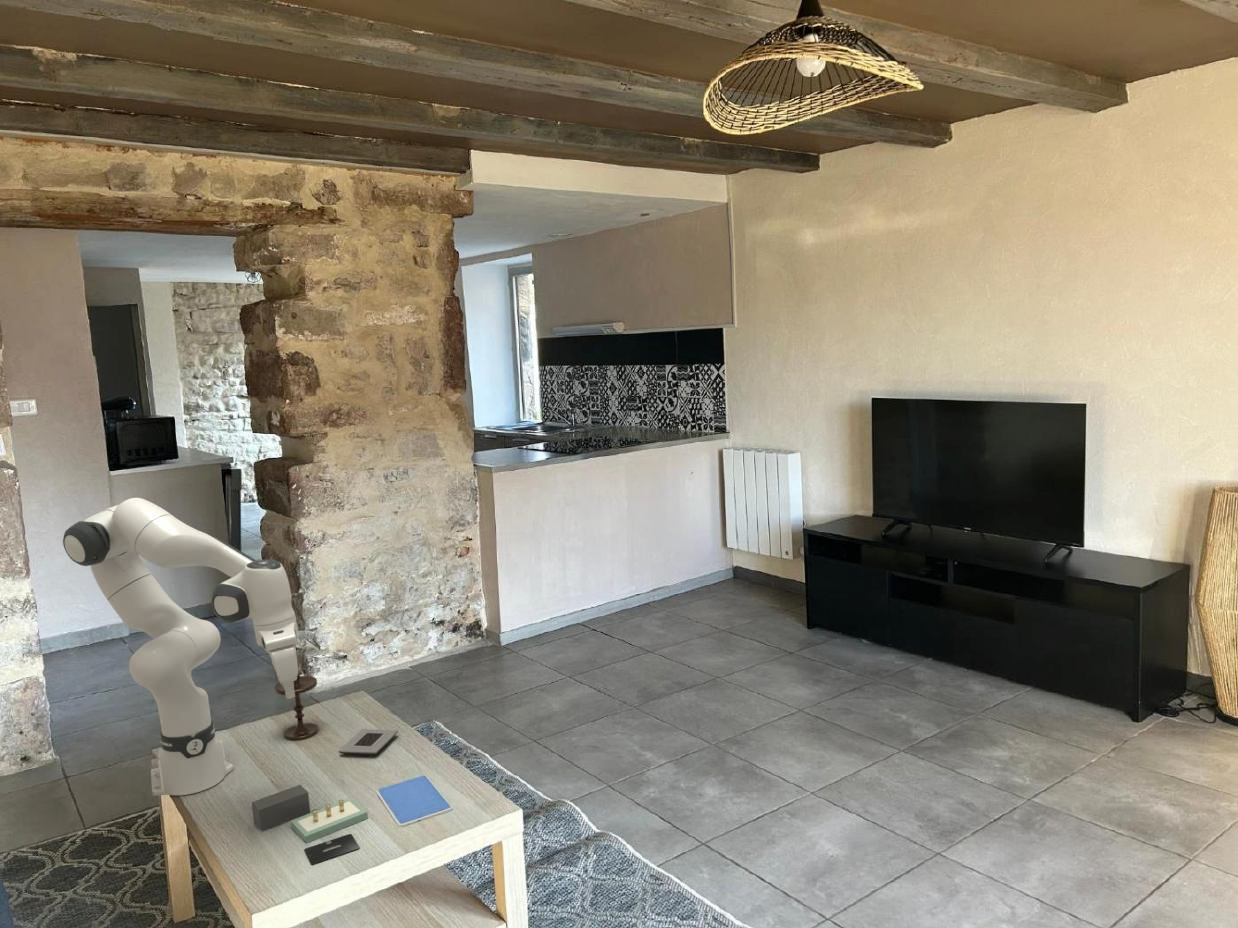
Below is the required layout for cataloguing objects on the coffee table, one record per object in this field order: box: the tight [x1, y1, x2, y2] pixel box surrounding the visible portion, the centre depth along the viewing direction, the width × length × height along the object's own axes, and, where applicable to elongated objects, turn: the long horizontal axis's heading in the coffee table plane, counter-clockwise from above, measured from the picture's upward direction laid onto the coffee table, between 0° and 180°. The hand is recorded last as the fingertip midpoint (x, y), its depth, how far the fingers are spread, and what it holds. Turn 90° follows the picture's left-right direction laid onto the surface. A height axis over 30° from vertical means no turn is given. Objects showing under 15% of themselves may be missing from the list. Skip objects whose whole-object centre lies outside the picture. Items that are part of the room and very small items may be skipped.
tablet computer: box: [375, 774, 454, 828], centre depth 207 cm, size 19×13×1 cm, turn 30°
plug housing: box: [251, 784, 312, 832], centre depth 203 cm, size 5×11×5 cm, turn 130°
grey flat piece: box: [337, 728, 399, 756], centre depth 237 cm, size 13×10×2 cm
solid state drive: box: [303, 833, 361, 866], centre depth 189 cm, size 7×10×1 cm
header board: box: [290, 797, 369, 844], centre depth 200 cm, size 9×14×4 cm, turn 130°
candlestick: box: [274, 646, 320, 742], centre depth 245 cm, size 11×11×35 cm
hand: (288, 691), depth 200 cm, fingers open, 8 cm apart
